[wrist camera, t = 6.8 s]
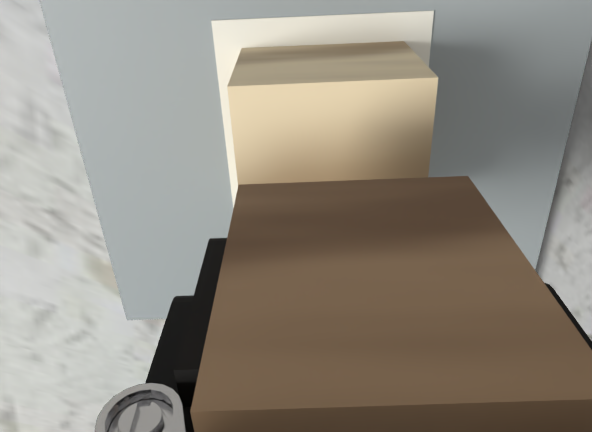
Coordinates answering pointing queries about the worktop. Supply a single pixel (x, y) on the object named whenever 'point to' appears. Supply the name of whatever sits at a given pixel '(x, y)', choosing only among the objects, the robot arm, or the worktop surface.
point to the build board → (295, 32)
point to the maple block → (331, 113)
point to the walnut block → (384, 317)
